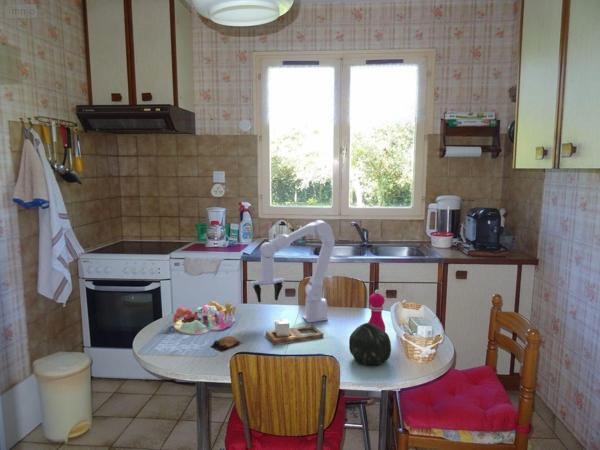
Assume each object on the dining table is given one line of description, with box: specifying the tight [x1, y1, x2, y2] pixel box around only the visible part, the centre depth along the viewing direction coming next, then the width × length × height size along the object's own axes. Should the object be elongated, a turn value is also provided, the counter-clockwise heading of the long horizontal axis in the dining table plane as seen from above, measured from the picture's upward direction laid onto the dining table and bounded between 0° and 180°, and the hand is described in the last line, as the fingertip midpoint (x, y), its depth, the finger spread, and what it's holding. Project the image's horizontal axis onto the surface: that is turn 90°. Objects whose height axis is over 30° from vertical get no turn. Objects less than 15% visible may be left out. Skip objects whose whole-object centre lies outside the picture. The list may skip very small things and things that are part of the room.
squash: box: [348, 322, 392, 366], centre depth 150 cm, size 14×15×15 cm
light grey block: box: [274, 318, 290, 338], centre depth 170 cm, size 5×5×7 cm
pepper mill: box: [367, 289, 386, 332], centre depth 169 cm, size 7×7×20 cm
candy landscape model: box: [172, 300, 237, 335], centre depth 186 cm, size 25×24×9 cm
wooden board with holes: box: [265, 324, 324, 346], centre depth 173 cm, size 20×10×2 cm, turn 111°
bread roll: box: [210, 335, 243, 352], centre depth 164 cm, size 11×9×4 cm
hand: (267, 300), depth 188 cm, fingers open, 7 cm apart
